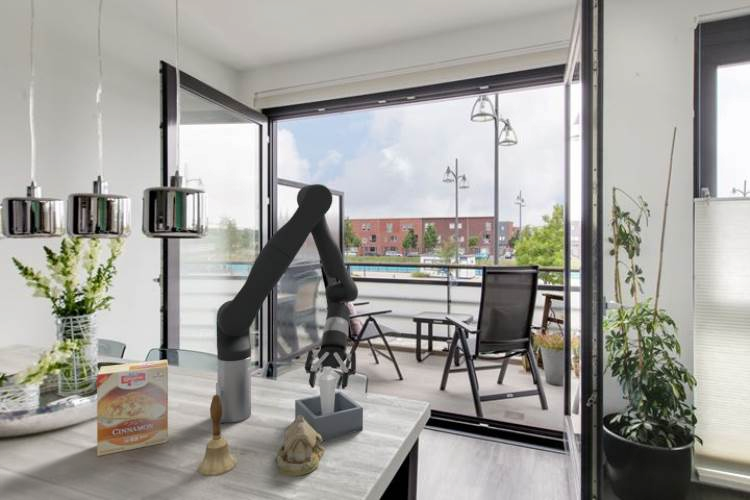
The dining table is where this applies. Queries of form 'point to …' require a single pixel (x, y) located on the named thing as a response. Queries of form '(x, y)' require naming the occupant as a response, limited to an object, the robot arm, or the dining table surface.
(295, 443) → the ceramic model
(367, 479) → the dining table surface
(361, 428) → the tote
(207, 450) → the hand bell
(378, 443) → the dining table surface
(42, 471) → the dining table surface
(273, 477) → the dining table surface
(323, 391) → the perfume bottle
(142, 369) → the coffeecake box
